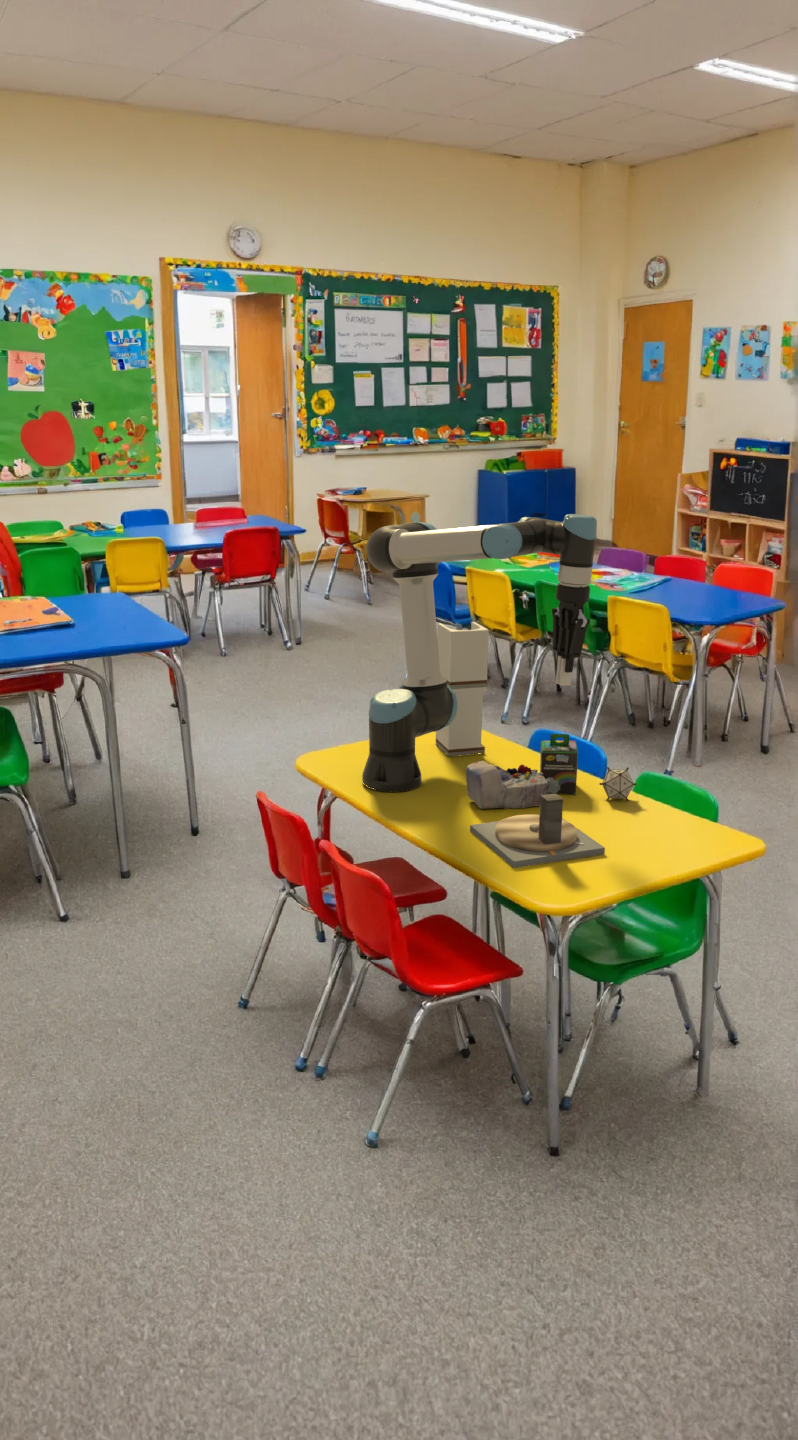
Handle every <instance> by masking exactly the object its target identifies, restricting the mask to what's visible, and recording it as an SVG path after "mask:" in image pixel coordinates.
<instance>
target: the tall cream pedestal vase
mask: <svg viewBox="0 0 798 1440" xmlns="http://www.w3.org/2000/svg"><path fill="white" fill-rule="evenodd" d="M470 624H471V625H470V626H471V627H470V629H469V630H468V629H466V630H465V629H464V630H463V629H453V628H449V627H448V626H446V625H445V624H443V623H440V622H439V623H437V639H438V651H439V663H440V673H441V675H442V676H443V677H445V678H446V679H447V686H449V687H450V688H451V689H452V692H453V693H455V695H456V698H457V703H458V708H457V713H456V716H455V718H454V720H453V721H452V722H451V723H450V724H449V725H448V726H446V727H444V728H442V729H441V730H439V731H436V732H435V746H436V745H438V747H439V748H440V750H441V749H442V750H441V751H442V752H443V753H444V752H445V753H446V754H447V755H446V754H445V753H444V754H445V755H446V757H448V756H453V757H460V756H459V755H465V756H468V755H467V754H478V753H485V754H486V747H485V746H484V744H482V728H483V727H482V726H483V725H482V724H483V700H484V699H483V697H484V695H483V694H484V693H487V692H488V665H489V664H488V663H489V638H490V637H489V636H490V635H489V632H490V629H488V628H486V627H484V626H483V625H481V624H479V623H477V622H475V621H471V623H470ZM438 747H437V748H438ZM439 748H438V749H439ZM478 755H479V754H478Z"/></svg>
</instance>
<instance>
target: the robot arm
mask: <svg viewBox="0 0 798 1440" xmlns="http://www.w3.org/2000/svg"><path fill="white" fill-rule="evenodd" d="M597 525H598V520H597V519H596V518H595V516H592V515H587V514H577V513H568V514H566V515H565V516H564V518H563V520H562V521H558V520H553V519H552V520H551V519H547V518H541V517H537V516H536V517H535V516H533V517H532V516H531V517H530V516H524V517H521V518H520V519H519V520H518V521H516V522H507V523H505V522H504V523H496V524H495V523H494V524H486V525H485V524H484V525H476V526H463V527H456V528H455V527H452V528H442V529H437V527H436V526H434V525H433V524H431V523H428V522H422V521H421V522H420V521H417V522H416V521H413V522H412V521H411V522H405V523H400V524H391V525H385V526H381V527H379V528H378V529H375V531H373V533H372V534H370V536H369V538H368V540H367V544H366V555H367V556H366V557H367V559H368V562H369V563H370V564H371V566H373V567H374V569H376V570H378V571H379V572H383V573H388V574H392V580H394V581H395V582H396V583H397V584H398V586H399V594H400V596H399V597H400V607H401V617H402V629H403V639H404V641H403V642H404V653H405V654H404V655H405V663H406V673H407V676H406V678H405V679H404V681H403V682H402V683H401V684H402V685H401V686H402V688H393V689H385V690H382V691H379V692H377V693H376V694H375V695H373V696H372V697H371V699H370V700H369V701H370V702H369V710H368V737H369V739H368V741H369V742H368V745H369V746H368V747H369V749H368V750H369V751H368V756H367V759H366V762H365V766H364V768H363V771H362V776H361V777H362V778H361V779H362V781H363V783H364V784H365V785H367V786H368V787H370V788H374V789H376V790H375V791H377V790H379V791H378V792H383V791H392V792H391V793H401V792H400V791H402V792H407V791H412V790H415V789H417V788H419V787H420V786H421V785H422V772H421V769H420V766H419V765H420V764H419V763H418V759H417V756H416V738H419V737H421V736H424V735H427V734H430V733H433V732H435V733H436V731H439V730H441V729H442V728H444V727H446V726H448V725H449V724H450V723H451V722H452V721H453V720H454V718H455V716H456V713H457V708H458V703H457V698H456V695H455V693H453V692H452V689H451V688H450V687H449V686H447V679H446V678H445V677H443V676H442V675H441V673H440V663H439V651H438V626H437V619H436V604H435V591H434V580H435V579H436V578H437V577H438V575H439V569H438V567H439V564H441V563H447V562H459V561H460V562H461V561H475V560H486V559H487V560H488V559H490V560H491V559H495V560H505V559H511V558H515V557H519V556H527V555H532V554H538V553H543V554H552V555H556V556H559V563H558V571H557V581H558V583H557V584H556V591H555V592H556V593H555V600H557V601H559V603H558V607H555V608H553V607H552V608H551V614H552V650H553V651H554V652H556V655H557V662H556V674H555V675H556V676H555V684H557V685H559V686H562V687H564V686H565V687H566V686H571V685H572V676H573V671H574V661H575V659H577V658H578V659H579V658H581V655H582V650H583V646H584V641H585V639H586V638H585V637H586V632H587V628H588V627H589V625H590V623H591V621H590V618H586V616H585V609H584V607H585V606H584V605H585V604H586V603H588V602H589V601H590V594H591V586H590V584H591V582H592V573H593V565H594V564H593V563H594V555H595V547H596V540H597V538H598V535H597V530H598V529H597V527H598V526H597ZM362 781H361V782H362ZM363 783H362V784H363ZM370 788H369V789H370ZM396 791H397V792H396Z"/></svg>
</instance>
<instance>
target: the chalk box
mask: <svg viewBox="0 0 798 1440" xmlns="http://www.w3.org/2000/svg"><path fill="white" fill-rule="evenodd" d="M560 738H561V739H563V740H559V739H560ZM549 739H550V740H541V741H540V757H539V758H540V760H539V763H540V764H539V766H540V767H539V768H540V769H539V773H540V772H541V773H543V775H542V776H544V778H545V779H550V780H551V783H550V787H549V788H548V789H547V790H546V794H557V795H573V796H574V795H575V796H576V795H577V782H578V781H577V780H578V779H577V777H578V756H579V751H578V745H577V740H570V734H568V733H551V734H550V738H549ZM557 739H558V740H557Z"/></svg>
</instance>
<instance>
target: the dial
mask: <svg viewBox="0 0 798 1440" xmlns="http://www.w3.org/2000/svg"><path fill="white" fill-rule="evenodd" d="M563 805H564V799H563V798H562V797H561V796H560V795H559V794H553V793H546V795H541V796H540V806H539V814H517V815H513V816H508V817H506V818H502V819H501V820H498V821H499V822H498V823H497V824H496V828H495V835H496V837H497V839H498V840H499V841H500V842H502V843H504V844H506V845H508V846H511V847H514V848H518V849H522V850H529V851H554V850H560V849H564V848H567V847H569V846H571V845H573V844H574V843H575V842H576V840H577V829H578V828H577V827H576V826H575V825H574V824H572V823H571V822H569V821H567V820H566V819H564V820H562V818H563V808H564V807H563ZM565 820H566V821H565ZM576 828H577V829H576Z"/></svg>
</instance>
